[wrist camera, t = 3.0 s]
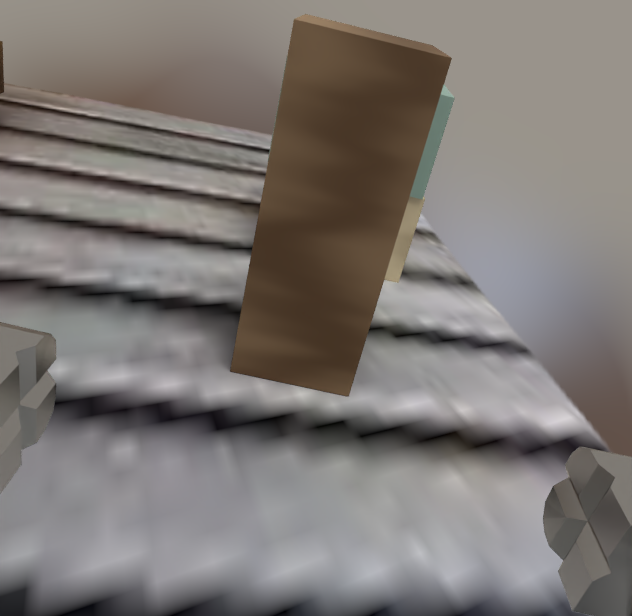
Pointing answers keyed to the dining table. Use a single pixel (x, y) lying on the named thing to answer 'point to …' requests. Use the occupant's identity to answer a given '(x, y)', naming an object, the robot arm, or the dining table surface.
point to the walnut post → (333, 199)
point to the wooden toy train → (1, 69)
